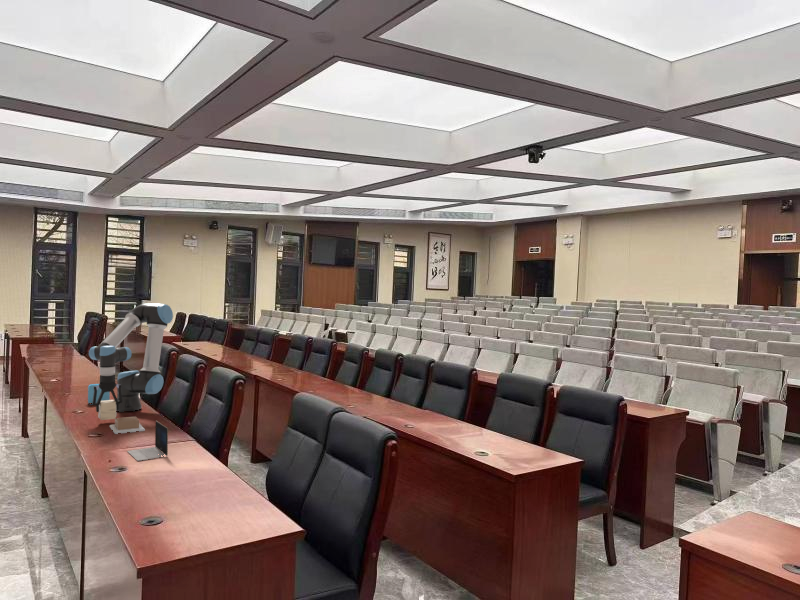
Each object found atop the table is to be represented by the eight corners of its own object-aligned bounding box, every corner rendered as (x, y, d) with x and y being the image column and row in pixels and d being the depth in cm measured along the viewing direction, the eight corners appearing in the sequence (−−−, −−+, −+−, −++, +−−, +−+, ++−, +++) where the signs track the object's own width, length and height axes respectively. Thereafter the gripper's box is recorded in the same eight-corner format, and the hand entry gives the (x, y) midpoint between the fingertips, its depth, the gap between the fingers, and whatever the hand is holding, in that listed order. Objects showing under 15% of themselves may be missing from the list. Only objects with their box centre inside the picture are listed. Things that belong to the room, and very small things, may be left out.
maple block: (99, 417, 320) (99, 400, 320) (113, 416, 324) (113, 399, 324) (101, 420, 314) (101, 403, 314) (115, 418, 318) (115, 402, 318)
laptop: (126, 452, 265) (127, 423, 265) (156, 448, 273) (156, 420, 273) (137, 462, 251) (138, 431, 251) (167, 457, 259) (168, 428, 259)
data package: (109, 402, 377) (109, 383, 377) (109, 403, 373) (109, 384, 373) (87, 403, 371) (88, 384, 371) (88, 404, 367) (88, 385, 367)
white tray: (109, 426, 311) (109, 417, 311) (138, 423, 319) (138, 414, 319) (114, 434, 296) (115, 424, 296) (144, 430, 304) (144, 421, 304)
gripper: (126, 372, 327) (126, 413, 328) (85, 374, 316) (85, 417, 317) (128, 374, 321) (128, 416, 321) (87, 377, 310) (87, 420, 310)
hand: (107, 416), depth 319 cm, fingers closed on maple block, 7 cm apart
